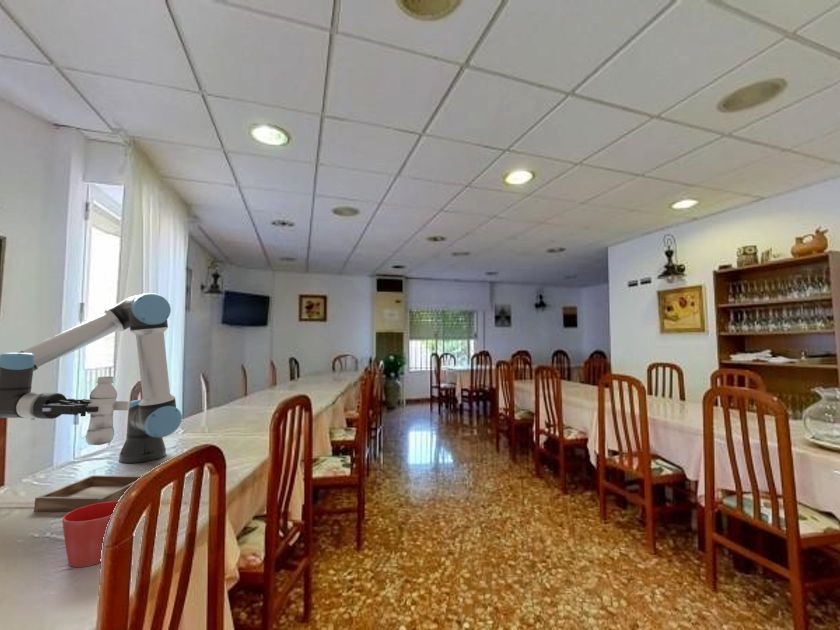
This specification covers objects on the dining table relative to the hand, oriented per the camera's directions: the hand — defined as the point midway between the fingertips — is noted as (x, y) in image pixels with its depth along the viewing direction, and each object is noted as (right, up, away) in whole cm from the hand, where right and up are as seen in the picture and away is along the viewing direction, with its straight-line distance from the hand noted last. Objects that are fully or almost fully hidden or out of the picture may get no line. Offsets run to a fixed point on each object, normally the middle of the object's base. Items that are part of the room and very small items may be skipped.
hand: (119, 407), depth 114 cm
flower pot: (+20, -24, -33) cm, 45 cm away
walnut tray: (-5, -26, -2) cm, 27 cm away
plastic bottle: (-5, -11, -1) cm, 12 cm away
